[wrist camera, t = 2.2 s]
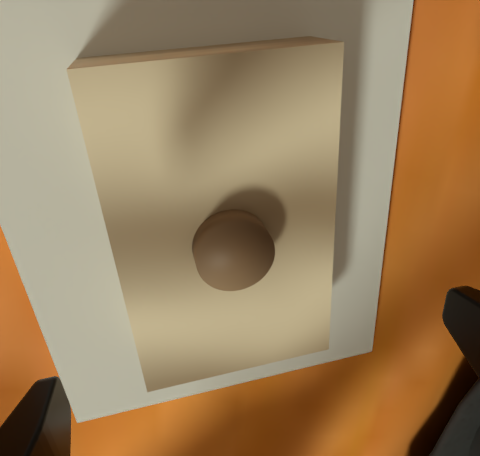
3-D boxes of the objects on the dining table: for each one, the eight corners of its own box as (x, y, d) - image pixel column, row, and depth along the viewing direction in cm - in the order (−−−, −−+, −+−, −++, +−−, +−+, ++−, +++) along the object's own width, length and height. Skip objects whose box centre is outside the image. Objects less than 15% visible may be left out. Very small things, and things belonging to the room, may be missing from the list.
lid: (305, 310, 18) (337, 364, 16) (144, 345, 17) (148, 410, 14) (309, 36, 13) (358, 44, 10) (76, 57, 12) (61, 73, 9)
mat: (367, 344, 21) (371, 351, 21) (78, 413, 19) (77, 423, 18) (415, -105, 12) (426, -109, 12) (-112, -88, 10) (-123, -92, 10)
